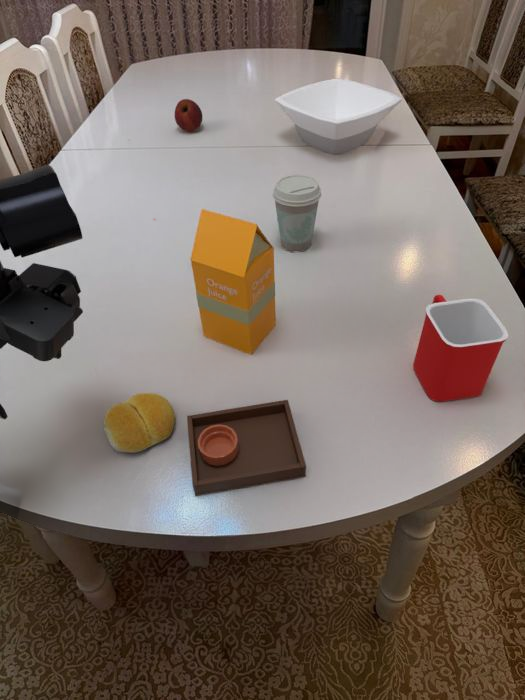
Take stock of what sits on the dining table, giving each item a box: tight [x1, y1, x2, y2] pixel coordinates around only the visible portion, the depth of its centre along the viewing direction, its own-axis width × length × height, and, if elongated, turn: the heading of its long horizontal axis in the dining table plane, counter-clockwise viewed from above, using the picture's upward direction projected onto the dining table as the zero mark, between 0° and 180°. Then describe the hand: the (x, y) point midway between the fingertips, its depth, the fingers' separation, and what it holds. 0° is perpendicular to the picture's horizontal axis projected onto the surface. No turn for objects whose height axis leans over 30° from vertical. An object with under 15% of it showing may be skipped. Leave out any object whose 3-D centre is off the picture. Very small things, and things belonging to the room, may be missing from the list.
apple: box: [174, 98, 203, 133], centre depth 133 cm, size 7×8×8 cm
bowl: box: [274, 77, 402, 155], centre depth 124 cm, size 24×25×10 cm
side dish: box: [198, 424, 239, 466], centre depth 61 cm, size 5×5×2 cm
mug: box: [412, 294, 510, 402], centre depth 67 cm, size 12×8×11 cm
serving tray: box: [186, 399, 307, 497], centre depth 61 cm, size 13×10×2 cm
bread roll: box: [104, 392, 176, 454], centre depth 64 cm, size 8×9×4 cm
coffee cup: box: [272, 174, 322, 253], centre depth 90 cm, size 9×8×12 cm
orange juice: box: [189, 208, 277, 356], centre depth 71 cm, size 8×9×20 cm
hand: (31, 385), depth 55 cm, fingers open, 9 cm apart
